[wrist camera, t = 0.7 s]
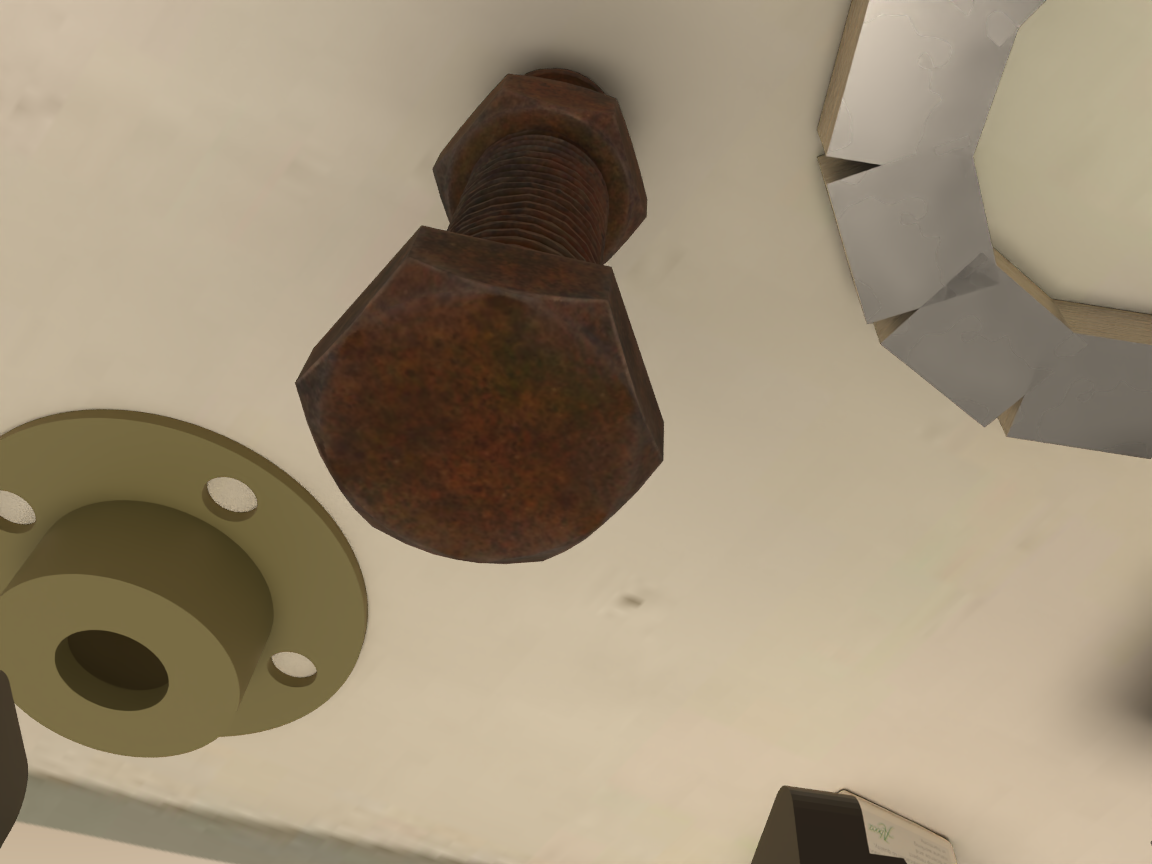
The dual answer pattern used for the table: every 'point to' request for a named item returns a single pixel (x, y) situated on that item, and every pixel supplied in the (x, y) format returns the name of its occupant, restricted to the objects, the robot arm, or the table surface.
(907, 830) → the syrup box
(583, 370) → the bolt
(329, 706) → the table surface
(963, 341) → the grey segmented ring
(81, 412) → the flange
